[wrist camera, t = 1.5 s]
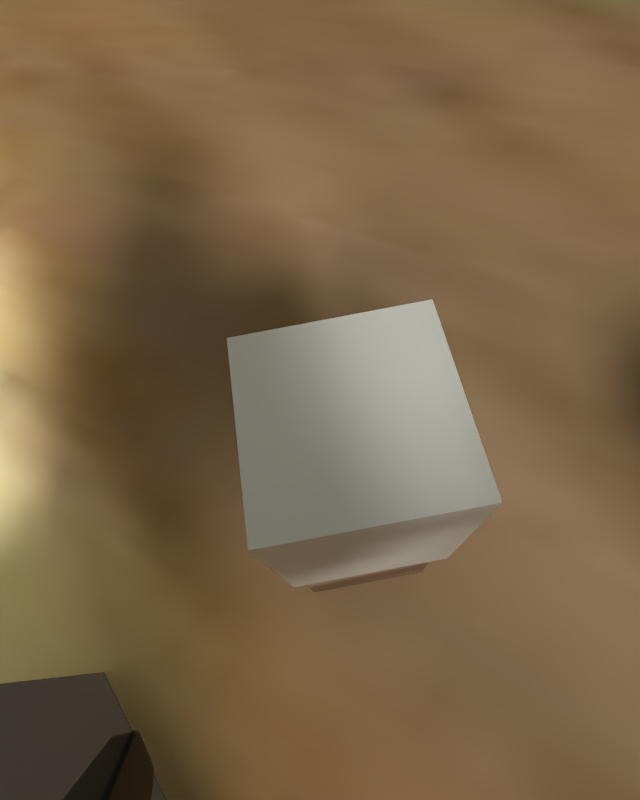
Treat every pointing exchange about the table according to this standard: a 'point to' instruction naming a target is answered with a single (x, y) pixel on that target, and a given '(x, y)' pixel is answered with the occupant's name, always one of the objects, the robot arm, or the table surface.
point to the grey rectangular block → (356, 445)
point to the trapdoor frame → (55, 733)
